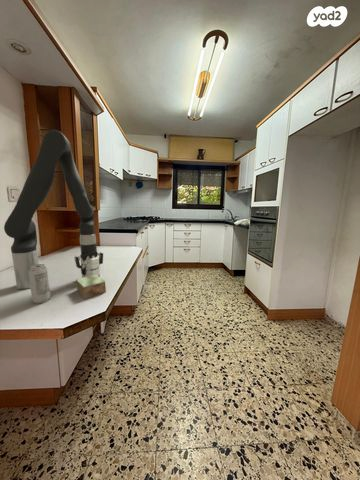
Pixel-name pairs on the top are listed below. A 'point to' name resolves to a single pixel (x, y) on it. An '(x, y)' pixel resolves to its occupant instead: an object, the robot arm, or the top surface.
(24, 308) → the top surface
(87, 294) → the stand
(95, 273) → the ink box
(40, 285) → the energy drink can
